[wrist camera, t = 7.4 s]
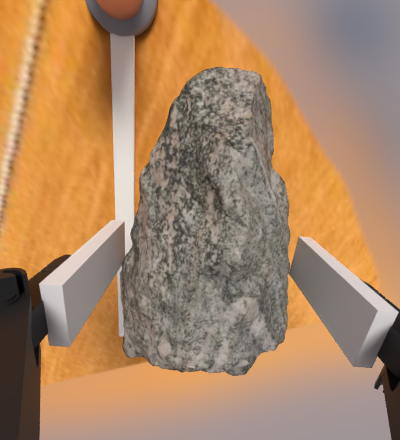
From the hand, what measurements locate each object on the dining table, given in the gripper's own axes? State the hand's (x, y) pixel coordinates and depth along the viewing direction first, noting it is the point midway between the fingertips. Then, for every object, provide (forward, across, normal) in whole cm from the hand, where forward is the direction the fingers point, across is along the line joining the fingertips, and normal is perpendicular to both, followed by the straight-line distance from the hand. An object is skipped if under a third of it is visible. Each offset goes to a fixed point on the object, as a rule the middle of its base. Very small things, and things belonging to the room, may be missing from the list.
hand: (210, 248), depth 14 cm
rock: (+2, 0, 0) cm, 2 cm away
